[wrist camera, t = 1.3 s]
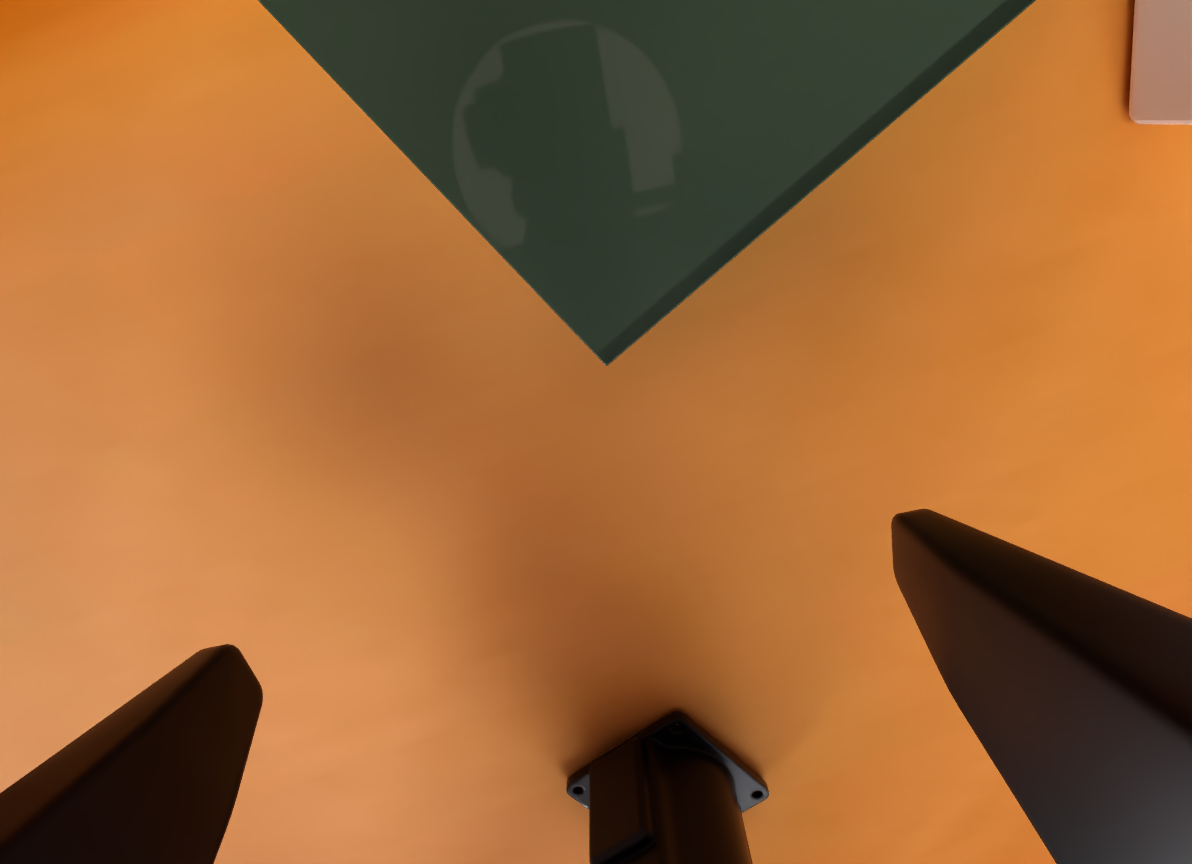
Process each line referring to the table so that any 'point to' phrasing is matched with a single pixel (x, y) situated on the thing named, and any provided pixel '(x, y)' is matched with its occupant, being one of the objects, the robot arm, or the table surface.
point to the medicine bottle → (1161, 63)
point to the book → (633, 122)
